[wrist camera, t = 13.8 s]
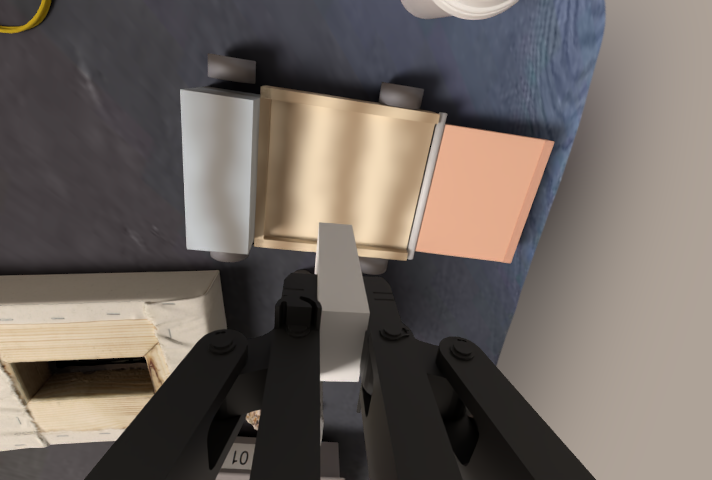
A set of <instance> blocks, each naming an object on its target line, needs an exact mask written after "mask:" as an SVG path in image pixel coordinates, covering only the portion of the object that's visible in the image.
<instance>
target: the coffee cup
mask: <svg viewBox="0 0 712 480" xmlns="http://www.w3.org/2000/svg"><path fill="white" fill-rule="evenodd" d="M518 1H519V0H401V2H402V4H403V5H404V7H405V8H406V9H407V10H408V11H409V12H410V13H411V14H412V15H414V16H416V17H418V18H422V19H434V18H440V17H447V16H456V17H458V18H462V19H469V20H479V19H486V18H490V17H493V16H495V15H498V14H500V13H502V12H504V11H506V10H507V9H509V8H510V7H512V6H513V5H514V4H515V3H517V2H518Z"/></svg>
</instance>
